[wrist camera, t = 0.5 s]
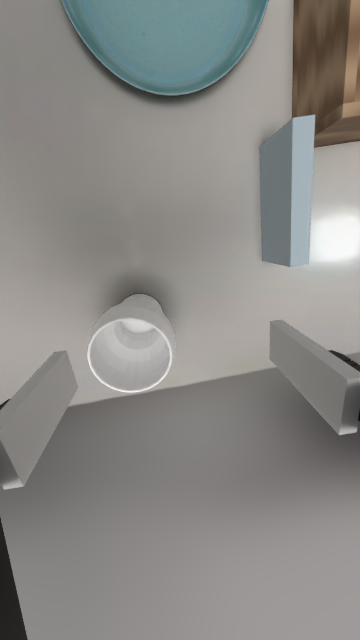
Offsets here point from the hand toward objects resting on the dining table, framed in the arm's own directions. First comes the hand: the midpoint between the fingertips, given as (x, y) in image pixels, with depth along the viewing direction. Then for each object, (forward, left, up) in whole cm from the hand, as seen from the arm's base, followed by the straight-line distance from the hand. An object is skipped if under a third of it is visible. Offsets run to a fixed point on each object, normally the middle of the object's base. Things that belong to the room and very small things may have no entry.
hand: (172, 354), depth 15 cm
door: (-9, +18, -25) cm, 32 cm away
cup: (+5, -5, -26) cm, 26 cm away
